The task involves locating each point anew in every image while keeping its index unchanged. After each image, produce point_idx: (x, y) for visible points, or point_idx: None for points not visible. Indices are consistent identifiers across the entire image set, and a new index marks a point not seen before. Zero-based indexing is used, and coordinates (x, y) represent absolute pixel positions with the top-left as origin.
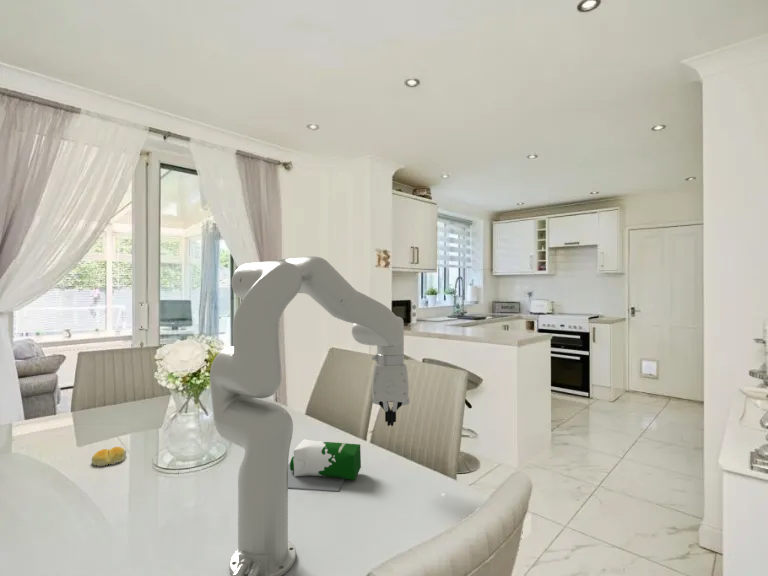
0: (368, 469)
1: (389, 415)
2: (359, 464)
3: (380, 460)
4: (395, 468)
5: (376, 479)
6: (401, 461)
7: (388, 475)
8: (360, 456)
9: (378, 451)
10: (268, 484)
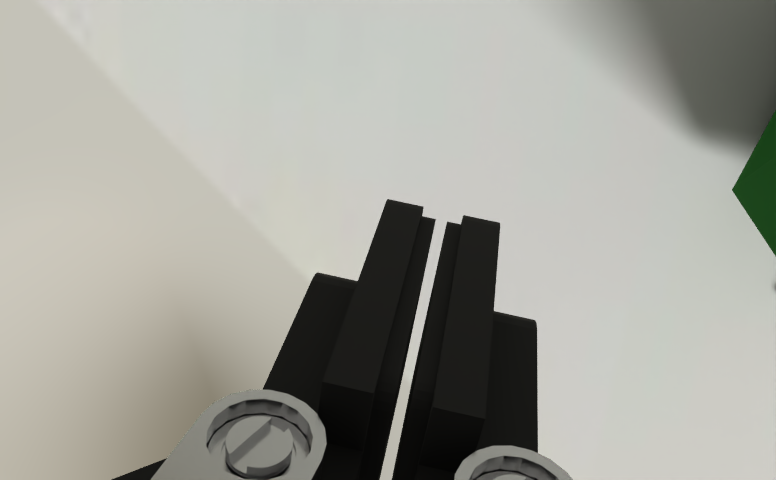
0: (643, 217)
1: (433, 346)
2: (771, 165)
3: None
4: None
5: (608, 40)
6: None
7: (493, 101)
8: (766, 232)
9: None
10: None
